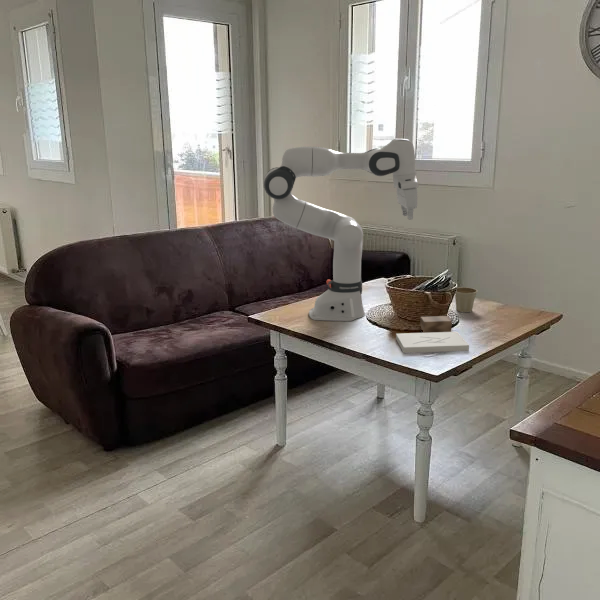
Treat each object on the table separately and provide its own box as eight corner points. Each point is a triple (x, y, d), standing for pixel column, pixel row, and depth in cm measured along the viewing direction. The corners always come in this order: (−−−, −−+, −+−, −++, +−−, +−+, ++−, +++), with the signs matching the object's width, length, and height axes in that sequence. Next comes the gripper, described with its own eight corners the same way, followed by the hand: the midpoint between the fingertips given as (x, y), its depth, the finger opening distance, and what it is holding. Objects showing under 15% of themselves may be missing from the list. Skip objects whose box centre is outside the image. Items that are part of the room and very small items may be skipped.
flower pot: (474, 307, 254) (475, 287, 251) (478, 314, 245) (479, 293, 242) (451, 307, 255) (452, 287, 252) (454, 313, 246) (455, 293, 243)
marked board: (403, 353, 205) (404, 347, 205) (395, 338, 219) (396, 333, 218) (468, 350, 206) (469, 345, 206) (456, 336, 220) (457, 331, 219)
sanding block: (423, 334, 223) (424, 321, 222) (420, 329, 229) (420, 316, 227) (451, 333, 223) (451, 320, 222) (446, 328, 229) (447, 315, 228)
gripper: (391, 180, 244) (394, 214, 248) (402, 185, 224) (405, 222, 228) (407, 178, 244) (409, 212, 248) (419, 183, 224) (421, 220, 228)
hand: (407, 217), depth 238 cm, fingers open, 8 cm apart
